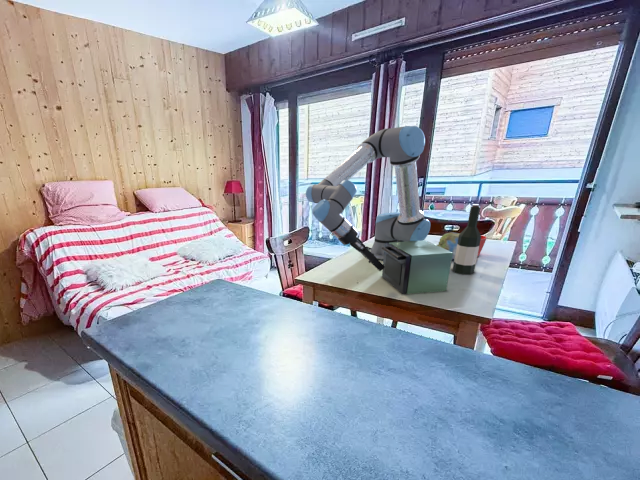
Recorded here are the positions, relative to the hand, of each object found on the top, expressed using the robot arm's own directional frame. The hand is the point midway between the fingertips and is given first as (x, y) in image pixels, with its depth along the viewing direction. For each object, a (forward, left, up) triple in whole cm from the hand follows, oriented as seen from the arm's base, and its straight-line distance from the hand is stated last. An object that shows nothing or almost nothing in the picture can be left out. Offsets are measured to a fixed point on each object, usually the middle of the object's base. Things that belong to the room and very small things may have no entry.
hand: (381, 268), depth 136 cm
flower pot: (-33, +62, -8) cm, 70 cm away
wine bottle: (-10, +43, -8) cm, 44 cm away
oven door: (0, +5, -8) cm, 9 cm away
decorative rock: (-30, +48, -8) cm, 57 cm away
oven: (0, +15, -8) cm, 17 cm away
